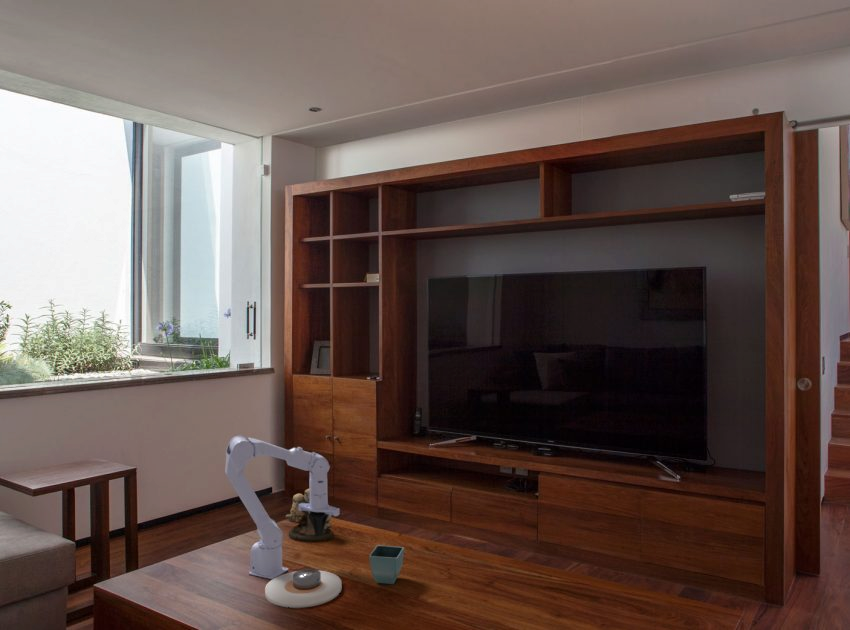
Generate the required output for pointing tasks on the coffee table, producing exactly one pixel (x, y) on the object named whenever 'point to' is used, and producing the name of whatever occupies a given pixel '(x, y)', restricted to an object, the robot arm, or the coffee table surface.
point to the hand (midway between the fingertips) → (319, 535)
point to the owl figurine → (306, 522)
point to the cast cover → (306, 579)
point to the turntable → (302, 591)
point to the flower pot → (386, 563)
